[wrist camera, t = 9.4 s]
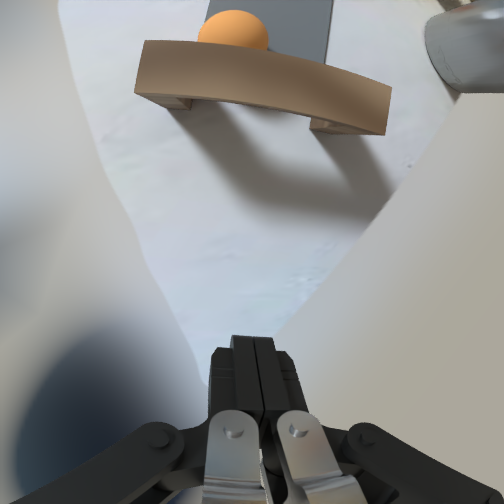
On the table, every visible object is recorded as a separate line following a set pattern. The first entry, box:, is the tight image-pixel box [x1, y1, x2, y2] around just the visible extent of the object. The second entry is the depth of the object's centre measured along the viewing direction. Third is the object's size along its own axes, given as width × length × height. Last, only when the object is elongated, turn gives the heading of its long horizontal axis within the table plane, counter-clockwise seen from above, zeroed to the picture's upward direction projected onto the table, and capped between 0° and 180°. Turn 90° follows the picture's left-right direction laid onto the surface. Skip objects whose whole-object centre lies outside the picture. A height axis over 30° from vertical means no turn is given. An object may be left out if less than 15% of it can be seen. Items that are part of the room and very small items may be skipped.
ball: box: [198, 10, 269, 51], centre depth 17 cm, size 5×5×5 cm
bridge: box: [134, 40, 392, 136], centre depth 17 cm, size 3×14×9 cm, turn 81°
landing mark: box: [205, 0, 332, 64], centre depth 18 cm, size 10×10×1 cm
